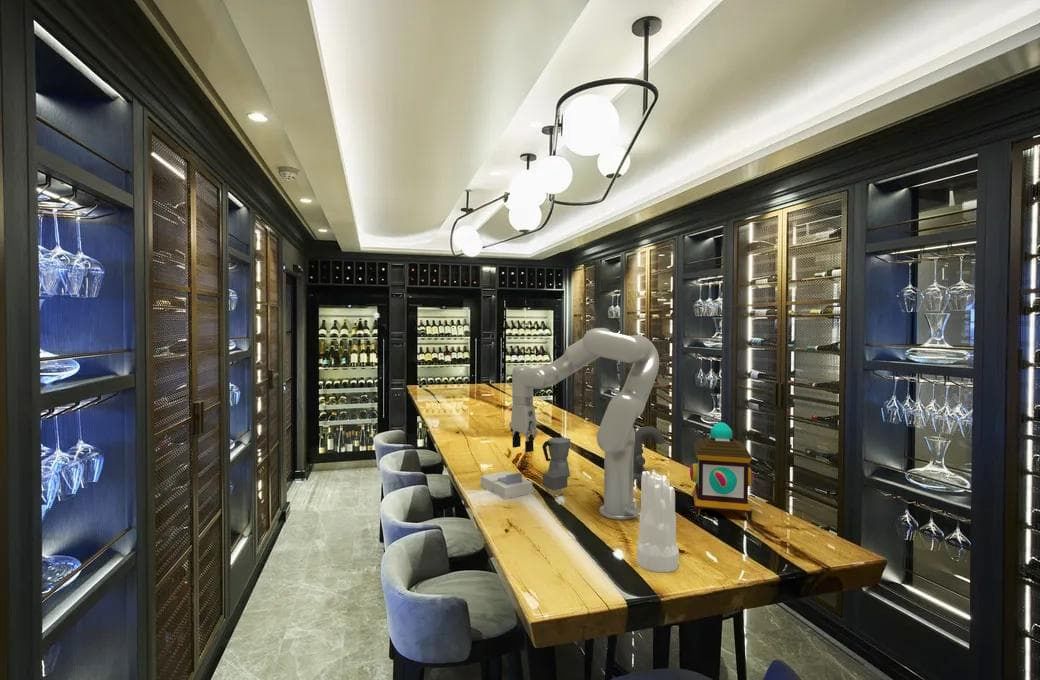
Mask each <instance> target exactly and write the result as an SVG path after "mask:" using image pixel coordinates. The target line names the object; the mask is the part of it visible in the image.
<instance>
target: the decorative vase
mask: <svg viewBox="0 0 1040 680" xmlns="http://www.w3.org/2000/svg"><path fill="white" fill-rule="evenodd" d="M640 487H641V488H640V491H641V492H640V510H641V511H640V513H639V514H640V515H639V516H640V517H639V521H638V522H639V523H638V524H639V526H638V528H639V529H638V530H639V531H638V539H637V543H636V545H637V546H636V549H637V550H636V552H637V553H636V554H637V555H636V557H637V558H636V564H637V565H638V566H639V567H640V568H642V569H644V570H647V571H650V572H655V573H672V572H676V571H677V570H678V568H679V565H680V564H679V559H680V556H679V553H680V552H679V551H680V550H679V547H678V544H677V516H676V491H675V488H674V486H672V485H671V483H670V482H669V481H668V478H667V476H666V475H664V474H663V475H660V474H658V473H657V471H656V470H655V469H653V468H652V471H651V472H650V471H648V470H646V472H645V471H644V472H642V478H641V479H640Z"/></svg>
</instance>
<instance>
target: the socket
mask: <svg viewBox="0 0 1040 680" xmlns="http://www.w3.org/2000/svg"><path fill="white" fill-rule="evenodd" d="M510 474H513V473H512V472H510V471H507V470H504V471H500V472H494V473H488V474H484V475H480V487H481V488H483V489H485V490H487V491H489V492H491V493H493V494H494V495H497V496H499V497H501V498H503V499H504V500H507V499H511V498H515V497H516V496H517V497H520V495H521V496H524V494H526V495H529V493H530V494H533V481H531V480H528V479H525V478H523V477H522V480H523V482H518V483H513V484H508V485H507V484H505V483H503V482H501V481H499V480H498V478H503V477H507V475H510Z"/></svg>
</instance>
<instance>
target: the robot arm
mask: <svg viewBox="0 0 1040 680" xmlns="http://www.w3.org/2000/svg"><path fill="white" fill-rule="evenodd" d="M599 358H604V359H608V360H614V361H618V362H623V363H628V364H632V366H631V368H630V371H629V373H628V375H627V378H626V379H625V383H624V386H623V387H622V389H621V391H620V392H619V393H617V394H615V395H614V396H613V397H612V398H611V399H610V402H608V404H607V407H606V410H605V411H604V412H605V413H604V415H603V417H602V420H601V423H600V425H599V427H598V430H597V433H596V441H597V445H598V447H599V448H600V450H601V451H603V452H604V463H603V464H604V466H603V469H604V470H603V471H604V472H603V476H604V477H603V478H604V479H603V487H604V489H603V494H604V495H603V502H604V503H603V505H601V506H600V507H599V511H598V512H599V514H600V515H601V516H604V517H605V518H607V519H611V520H621V521H623V520H624V521H625V520H632V519H635V518H636V517H638V516H639V514H640V512H641V508H638V507H636V502H635V501H634V479H633V460H634V445H635V432H636V431H635V428H634V425H635V422H636V420H637V418H639V417H640V416H641V415H642V414H643V412H644V410H645V407H646V404H647V402H648V399H649V397H650V394H651V391H652V389H653V386H654V384H655V381H656V378H657V375H658V372H659V368H660V356H659V352H658V350H657V348H656V346H655V345H654V344H653V342H652V341H651V340H650V339H649V338H647V337H646V336H643V335H640V334H635V335H634V334H633V335H626V334H621V333H617V332H612V331H611V330H610V329H609V328H606V327H595V328H590V329H589V330H587V332H586V333H585V334H584V335H583V338H581V339H579V340H578V341H575V342H574V343H573V344H571V345H569V346H568V347H567V348H566V349H565V351H564V353H563V354H562V355H561V356H560V357H559V358H557V359H555V360H554V361H552V362H551V363H549V364H548V365H544V366H538V367H534V368H532V367H531V366H515V367H513V368H512V373H511V375H512V377H511V379H512V380H511V381H512V382H511V385H512V386H511V387H512V390H511V391H512V392H511V393H512V396H511V398H512V399H511V400H512V401H511V403H512V404H511V405H512V406H511V417H510V419H511V420H510V422H509V424H508V426H509V428H510V432H511V438H512V448H519V447H520V448H521V441H522V440H521V438H522V437H521V434H522V435H523V434H524V436H525V442H524V450H525V451H524V452H525V453H530V452H531V453H532V452H534V441H535V438H536V435H537V433H538V429H537V419H536V410H535V405H534V389H535V390H542V389H545V388H546V389H547V388H548V387H552V386H554V385H557V384H558V383H560V382H561V381H563V380H565V379H566V378H568V377H570V376H571V375H572V374H574V373H576V372H578V371H579V370H581V369H582V368H584V367H585V366H587V365H589V364H590V363H593V362H595V360H597V359H599Z"/></svg>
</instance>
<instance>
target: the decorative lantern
mask: <svg viewBox="0 0 1040 680" xmlns="http://www.w3.org/2000/svg"><path fill="white" fill-rule="evenodd" d="M693 447H694V452H695V456H696V462H695V463H692V464H691V465H690V468H689V476H690V477H689V478H690V480H691V482H692V483H695V484H694V485H695V486H694V487H693V489H692V492H691V493H692V499H693V505H694V514H695V516H696V517H699V516H700V513H701V510H702V509H703V510H712V511H713V510H715V511H725V512H726V511H727V512H737V513H744V514H745V515H746V520H747V521H748V522H750V521H752V517H753V510H752V507H751V505H750V503H749V488H750V486H752V484H753V483H754V474H753V470H752V468H751V467H749V464H750V463H751V461H752V455H751V454H750V452H749V450H748V449H747V447H746V446H745V445H744V443H742V442H741V441H740V440H737V439H735V438H734V437H733V430H732V429H731V427H730V426H729V425H728V424H727V423H725V422H717V423H715V424H714V425H713V426H712V427H711V428H710V433H709V435H707V436H706V437H704V438H698V439H697V440H695V441H694V443H693Z"/></svg>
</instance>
